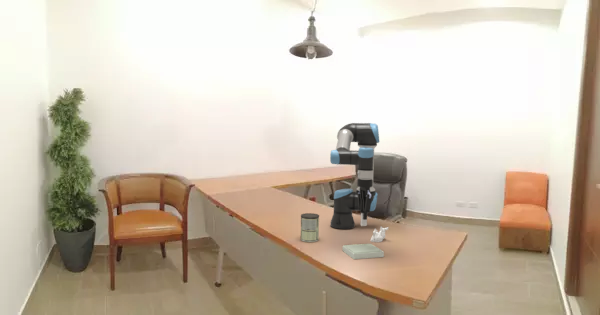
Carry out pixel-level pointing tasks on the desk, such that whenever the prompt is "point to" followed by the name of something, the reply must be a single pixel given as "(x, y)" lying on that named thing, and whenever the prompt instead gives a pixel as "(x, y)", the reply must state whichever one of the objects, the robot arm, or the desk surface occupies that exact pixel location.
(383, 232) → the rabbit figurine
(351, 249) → the tray
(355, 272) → the desk surface
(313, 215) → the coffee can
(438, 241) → the desk surface
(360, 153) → the robot arm
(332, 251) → the desk surface
